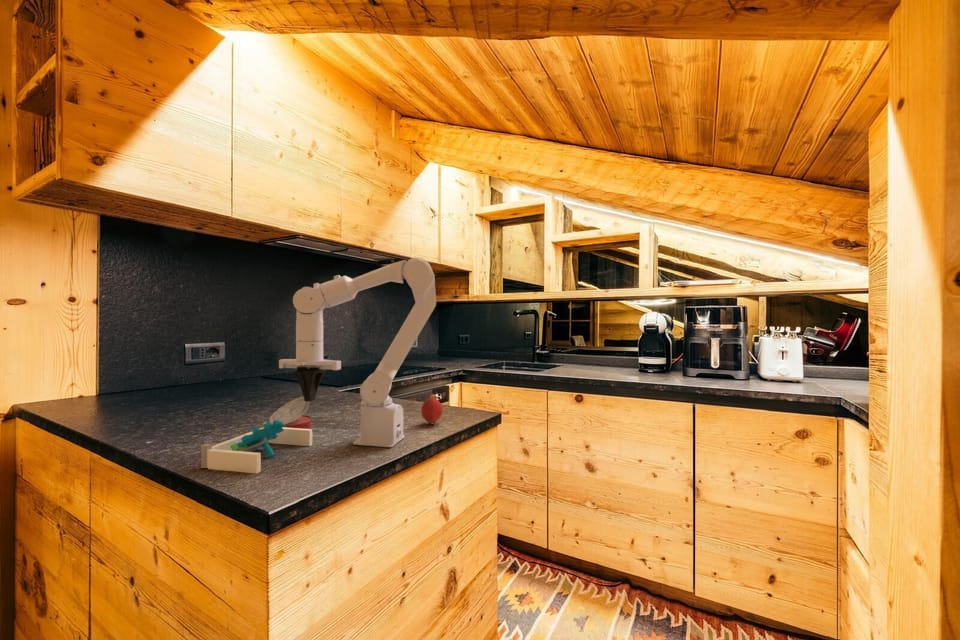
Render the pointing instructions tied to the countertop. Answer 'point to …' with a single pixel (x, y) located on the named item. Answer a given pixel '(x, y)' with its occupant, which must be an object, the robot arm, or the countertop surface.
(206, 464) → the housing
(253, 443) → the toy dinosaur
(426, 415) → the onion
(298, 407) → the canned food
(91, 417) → the countertop surface
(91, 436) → the countertop surface
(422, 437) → the countertop surface
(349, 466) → the countertop surface
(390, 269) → the robot arm
